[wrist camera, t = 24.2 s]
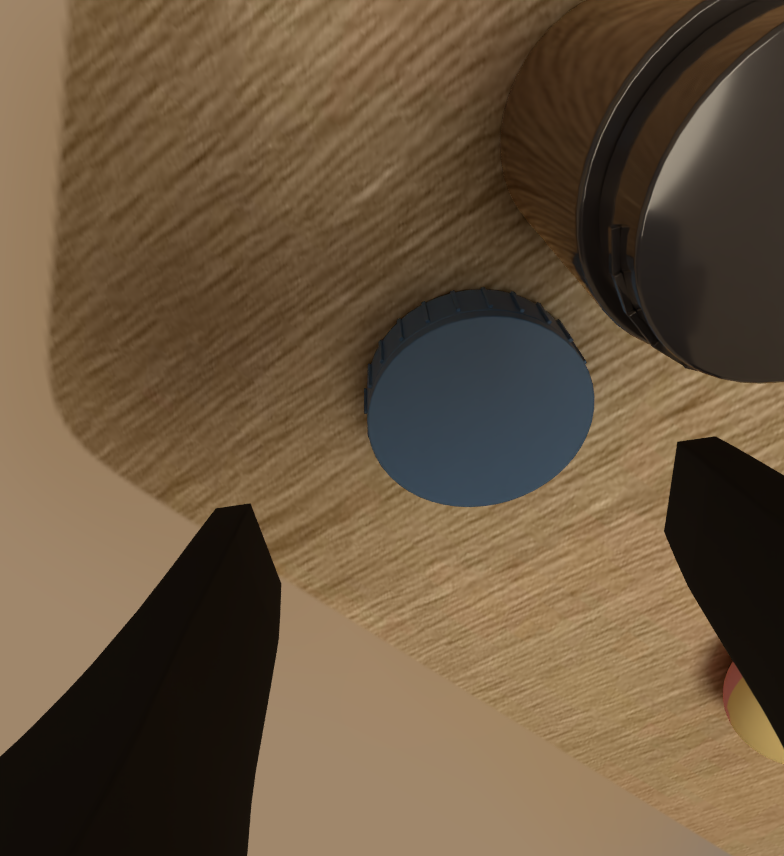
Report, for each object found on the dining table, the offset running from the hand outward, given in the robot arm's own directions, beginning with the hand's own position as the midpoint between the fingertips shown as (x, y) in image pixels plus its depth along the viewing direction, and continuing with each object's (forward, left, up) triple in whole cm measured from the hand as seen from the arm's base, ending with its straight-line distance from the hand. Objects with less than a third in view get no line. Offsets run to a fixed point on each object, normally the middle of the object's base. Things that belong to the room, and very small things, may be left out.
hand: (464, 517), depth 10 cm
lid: (+2, -2, -6) cm, 6 cm away
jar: (+4, +6, -7) cm, 10 cm away
